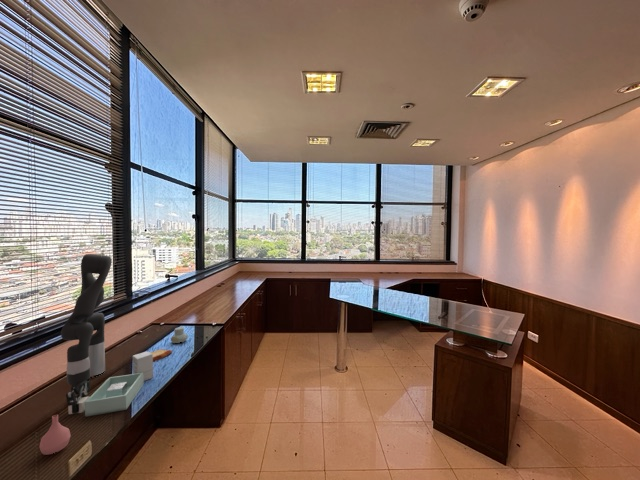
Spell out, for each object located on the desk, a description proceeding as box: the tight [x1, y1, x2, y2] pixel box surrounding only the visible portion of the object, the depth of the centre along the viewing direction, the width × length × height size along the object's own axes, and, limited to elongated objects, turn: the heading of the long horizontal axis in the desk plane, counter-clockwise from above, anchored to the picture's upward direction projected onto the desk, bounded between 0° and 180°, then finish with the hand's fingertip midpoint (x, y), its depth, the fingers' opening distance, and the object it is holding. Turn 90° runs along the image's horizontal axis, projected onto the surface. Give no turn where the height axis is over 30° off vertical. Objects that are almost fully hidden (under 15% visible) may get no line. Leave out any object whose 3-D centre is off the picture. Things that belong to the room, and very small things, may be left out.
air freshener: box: [170, 326, 189, 344], centre depth 195 cm, size 11×8×10 cm
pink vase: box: [39, 414, 72, 456], centre depth 93 cm, size 8×8×12 cm
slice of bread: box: [150, 348, 173, 363], centre depth 168 cm, size 18×18×4 cm
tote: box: [84, 373, 144, 418], centre depth 124 cm, size 15×22×6 cm
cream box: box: [68, 395, 91, 415], centre depth 117 cm, size 5×5×4 cm
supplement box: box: [132, 351, 154, 382], centre depth 143 cm, size 7×7×13 cm
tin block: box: [106, 382, 127, 398], centre depth 124 cm, size 6×6×5 cm
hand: (79, 408), depth 116 cm, fingers closed on cream box, 5 cm apart
